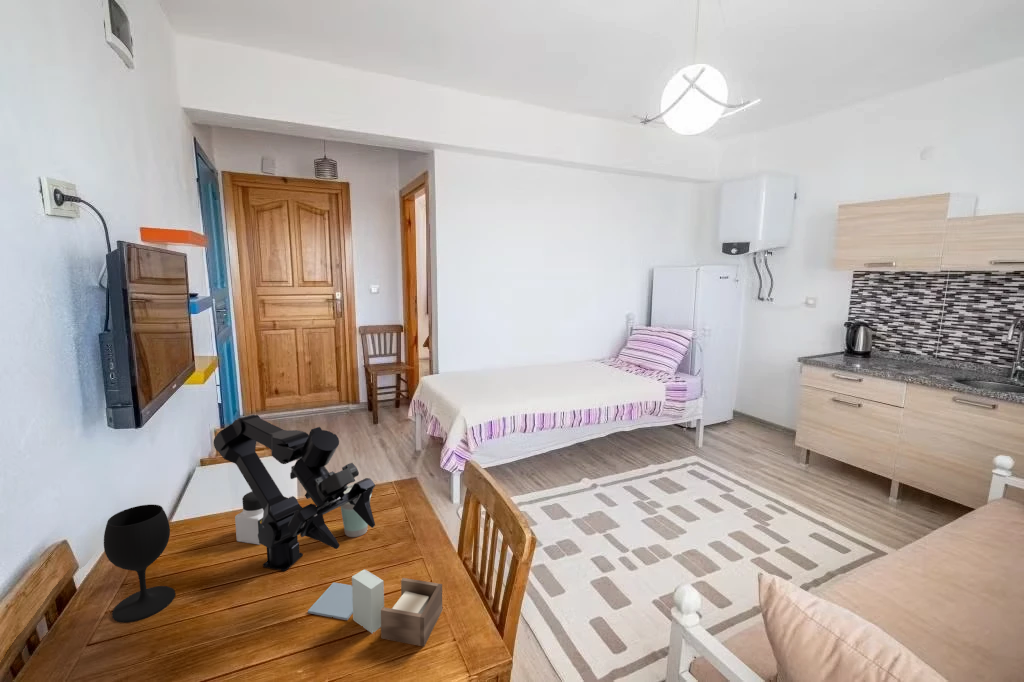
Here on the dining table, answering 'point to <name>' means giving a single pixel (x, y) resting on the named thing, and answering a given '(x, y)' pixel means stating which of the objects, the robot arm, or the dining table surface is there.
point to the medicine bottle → (249, 520)
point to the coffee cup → (352, 519)
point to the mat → (335, 602)
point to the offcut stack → (412, 602)
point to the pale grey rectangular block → (367, 600)
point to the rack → (413, 615)
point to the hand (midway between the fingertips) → (356, 536)
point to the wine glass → (138, 557)
